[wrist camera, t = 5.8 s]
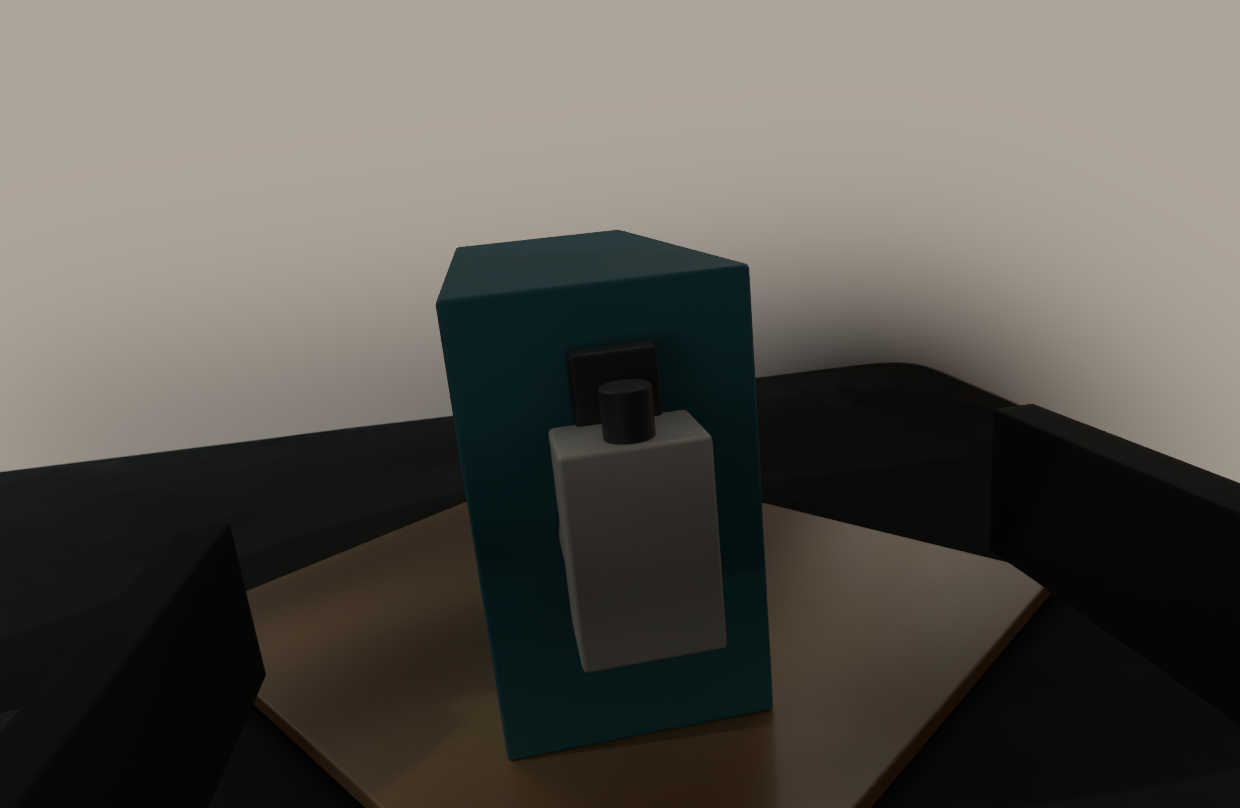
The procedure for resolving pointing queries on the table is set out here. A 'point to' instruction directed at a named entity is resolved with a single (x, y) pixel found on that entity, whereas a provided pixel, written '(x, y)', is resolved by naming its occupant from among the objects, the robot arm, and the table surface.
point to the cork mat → (651, 763)
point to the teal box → (610, 483)
